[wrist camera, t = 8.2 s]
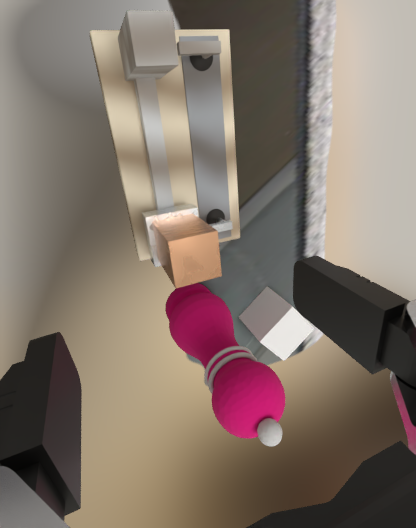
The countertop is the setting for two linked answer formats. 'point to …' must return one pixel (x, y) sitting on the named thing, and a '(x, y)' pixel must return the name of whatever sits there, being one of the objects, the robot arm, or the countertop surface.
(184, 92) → the board
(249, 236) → the countertop surface
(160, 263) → the slider
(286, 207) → the countertop surface
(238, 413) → the pepper mill
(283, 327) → the white cube
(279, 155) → the countertop surface
